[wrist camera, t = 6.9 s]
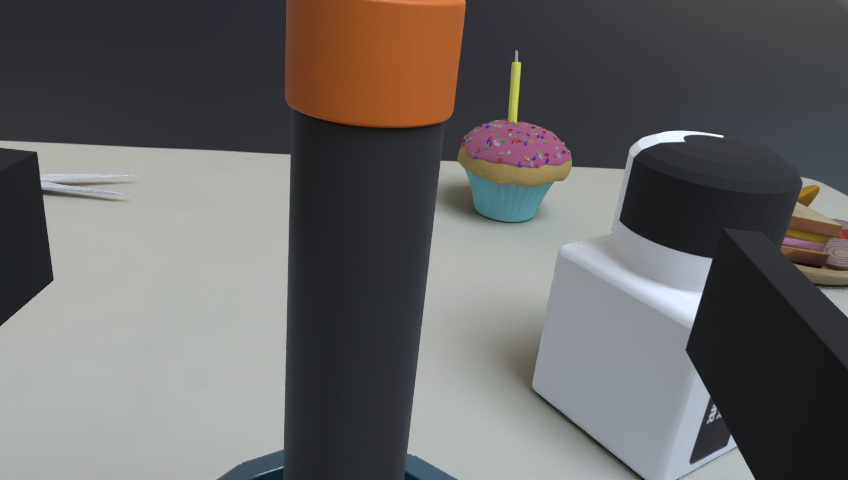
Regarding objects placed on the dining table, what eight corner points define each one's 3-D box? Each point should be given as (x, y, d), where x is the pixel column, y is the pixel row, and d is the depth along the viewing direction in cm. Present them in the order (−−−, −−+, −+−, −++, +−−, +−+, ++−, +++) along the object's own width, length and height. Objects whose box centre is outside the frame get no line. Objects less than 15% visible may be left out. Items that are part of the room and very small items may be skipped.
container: (764, 435, 32) (865, 165, 27) (657, 494, 28) (752, 188, 23) (632, 350, 38) (695, 114, 32) (527, 389, 33) (578, 124, 28)
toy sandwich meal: (921, 297, 48) (949, 234, 46) (733, 284, 47) (754, 219, 45) (818, 225, 59) (837, 172, 57) (664, 213, 58) (679, 159, 56)
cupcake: (434, 194, 57) (451, 43, 52) (524, 189, 60) (548, 47, 55) (483, 237, 50) (508, 67, 45) (581, 229, 53) (615, 69, 48)
